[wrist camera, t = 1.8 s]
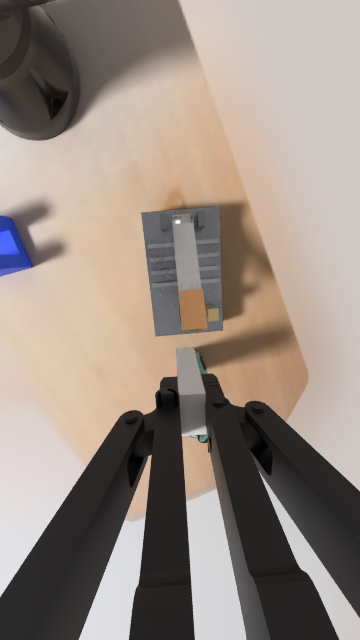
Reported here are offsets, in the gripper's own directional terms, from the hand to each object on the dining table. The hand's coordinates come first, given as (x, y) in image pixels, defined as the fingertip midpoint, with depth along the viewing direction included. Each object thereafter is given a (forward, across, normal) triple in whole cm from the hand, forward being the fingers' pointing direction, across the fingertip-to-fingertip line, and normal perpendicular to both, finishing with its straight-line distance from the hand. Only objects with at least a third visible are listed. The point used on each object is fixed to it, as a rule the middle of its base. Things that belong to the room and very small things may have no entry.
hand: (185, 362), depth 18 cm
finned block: (+24, +2, +6) cm, 25 cm away
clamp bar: (+14, +1, +7) cm, 15 cm away
